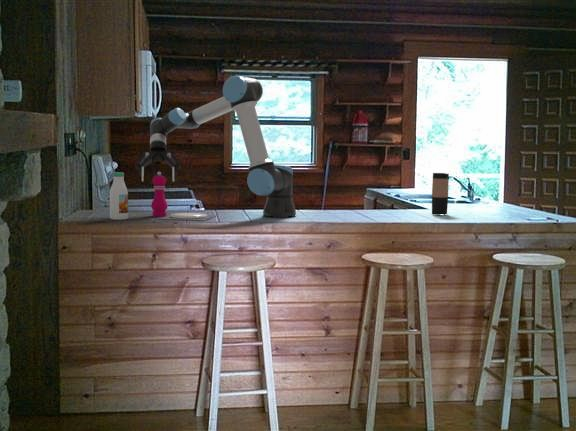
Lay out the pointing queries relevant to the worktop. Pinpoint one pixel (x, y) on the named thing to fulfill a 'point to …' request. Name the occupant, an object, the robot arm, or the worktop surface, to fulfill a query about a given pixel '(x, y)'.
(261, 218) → the worktop surface
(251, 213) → the worktop surface
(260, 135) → the robot arm
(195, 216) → the plate
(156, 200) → the pepper mill
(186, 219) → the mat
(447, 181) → the travel mug
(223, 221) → the worktop surface
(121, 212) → the milk bottle
